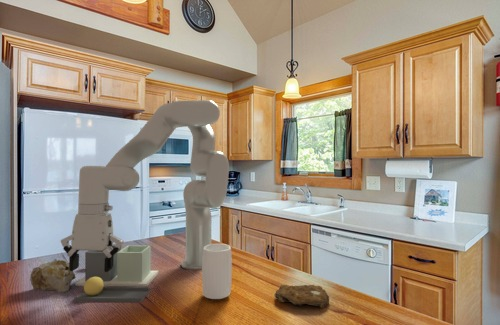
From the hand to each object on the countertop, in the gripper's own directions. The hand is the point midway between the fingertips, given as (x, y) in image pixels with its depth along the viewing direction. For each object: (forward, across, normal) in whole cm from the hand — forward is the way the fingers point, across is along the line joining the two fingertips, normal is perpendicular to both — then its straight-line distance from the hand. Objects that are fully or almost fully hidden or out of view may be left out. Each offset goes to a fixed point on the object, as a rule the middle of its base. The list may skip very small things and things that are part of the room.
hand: (91, 269), depth 83 cm
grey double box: (+7, -3, -12) cm, 15 cm away
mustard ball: (+7, -1, -1) cm, 7 cm away
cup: (+7, -36, -1) cm, 36 cm away
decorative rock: (+7, -59, +1) cm, 60 cm away
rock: (+8, +14, -6) cm, 18 cm away
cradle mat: (+8, -6, -1) cm, 10 cm away
